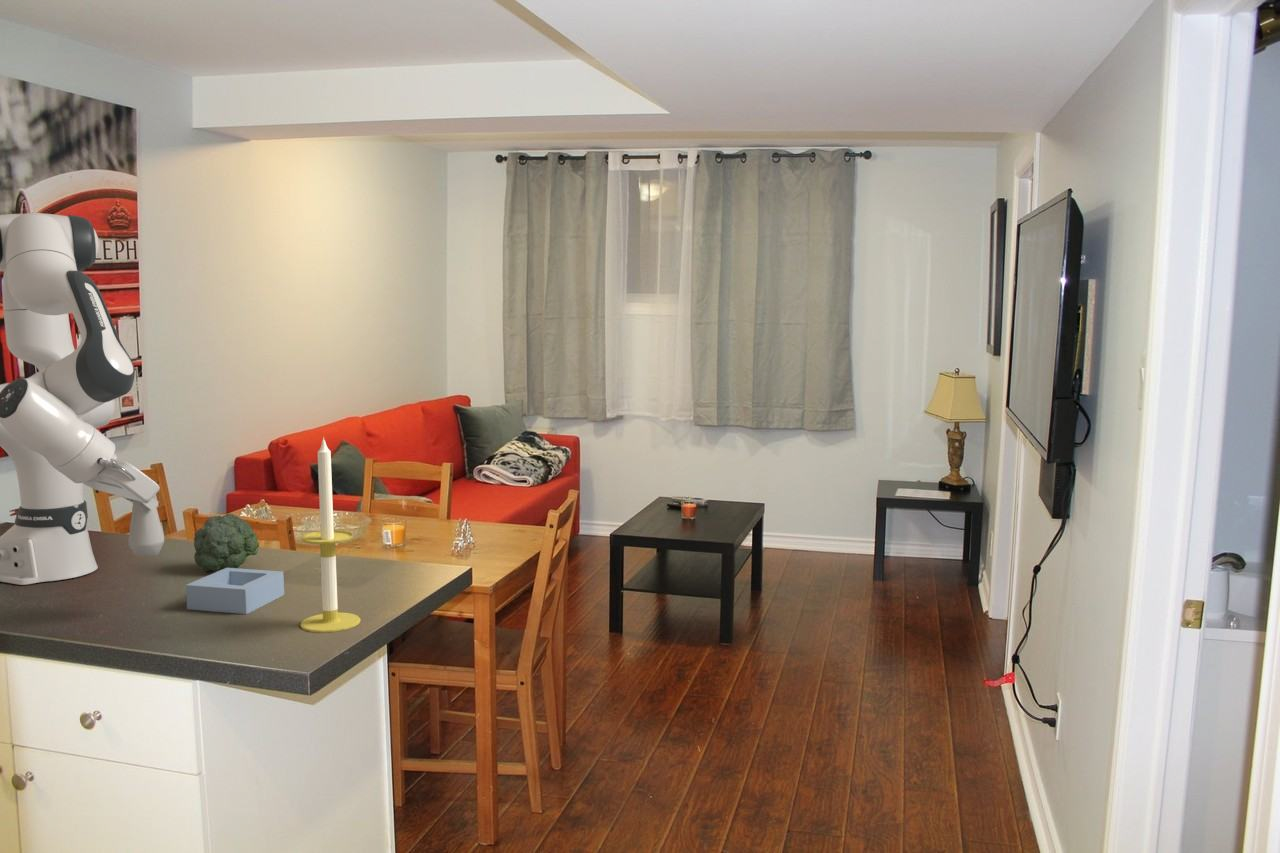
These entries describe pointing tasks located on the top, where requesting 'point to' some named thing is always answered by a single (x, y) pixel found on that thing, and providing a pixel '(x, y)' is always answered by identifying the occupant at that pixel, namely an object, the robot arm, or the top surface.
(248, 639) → the top surface
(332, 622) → the candle
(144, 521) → the salt shaker
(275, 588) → the container
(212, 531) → the vegetable
